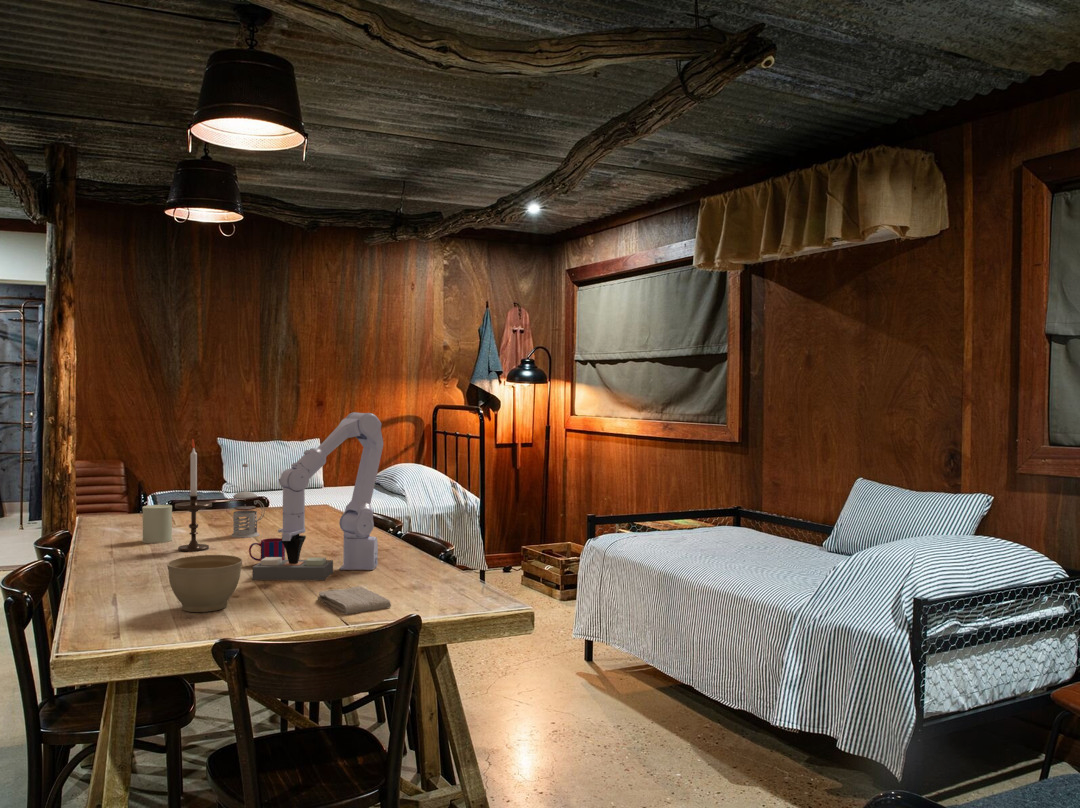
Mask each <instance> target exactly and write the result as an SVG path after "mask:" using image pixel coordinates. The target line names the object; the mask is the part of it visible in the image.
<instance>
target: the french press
mask: <svg viewBox="0 0 1080 808" xmlns="http://www.w3.org/2000/svg"><path fill="white" fill-rule="evenodd" d="M241 467H243V468H244V485H246V483H247V482H246V471H247V469H246V468H248V467H249V465H248V463H243V464H242V466H241ZM232 498H233V499H239V500H240V499H241V500H242V499H243V500H246V499H255V498H258V495H257V494H255V493H254V492H252V491H247V490H244V491H239V492H238V493H237V492H236V493H235V494H234V495H232ZM253 503H254V505H257V504H259V505H260V508H261V509H260V510H263V513H261V514H260V517H259V518H258V511H257V510H256V508H257V507H256V506H254V505H248V506H247V505H244V506H243V505H242V506H235V507H234V510H235V511H233V518H232V519H233V520H232V521H233V528H232V529H233V531H232V532H233V533H232V534H230V538H236V539H237V538H238V539H239V538H240V539H246V538H256V537H259V536H260V533H259V532H258V522H259V521H261V520H262V519H263V517H264V516H265V510H266V509H265V505H264V503H263V502H262V501H260V500H259V499H257V500H254V501H253Z"/></svg>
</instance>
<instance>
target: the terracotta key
mask: <svg viewBox="0 0 1080 808" xmlns="http://www.w3.org/2000/svg"><path fill="white" fill-rule="evenodd" d="M303 563H304V562H298V563H297V564H289V561H288V562H286V563H285V564H283V565H292V566H300V565H302V564H303Z"/></svg>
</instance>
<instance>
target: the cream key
mask: <svg viewBox="0 0 1080 808" xmlns="http://www.w3.org/2000/svg"><path fill="white" fill-rule="evenodd" d="M260 562H261V565H279V564H281V563H282V557H265V558H264V559H262V560H261V561H260Z"/></svg>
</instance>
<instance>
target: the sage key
mask: <svg viewBox="0 0 1080 808" xmlns="http://www.w3.org/2000/svg"><path fill="white" fill-rule="evenodd" d="M305 560H306V561H305V566H323V565H324V564H325V563H326V560H327V558H326V557H317V556H316V557H314V556H312V557H308V558H307V559H305Z"/></svg>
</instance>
